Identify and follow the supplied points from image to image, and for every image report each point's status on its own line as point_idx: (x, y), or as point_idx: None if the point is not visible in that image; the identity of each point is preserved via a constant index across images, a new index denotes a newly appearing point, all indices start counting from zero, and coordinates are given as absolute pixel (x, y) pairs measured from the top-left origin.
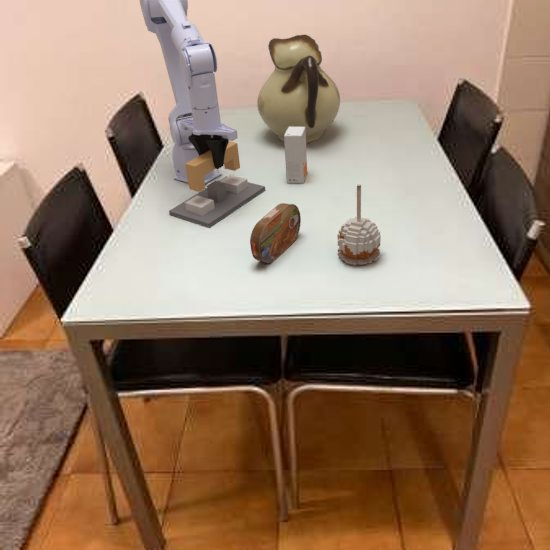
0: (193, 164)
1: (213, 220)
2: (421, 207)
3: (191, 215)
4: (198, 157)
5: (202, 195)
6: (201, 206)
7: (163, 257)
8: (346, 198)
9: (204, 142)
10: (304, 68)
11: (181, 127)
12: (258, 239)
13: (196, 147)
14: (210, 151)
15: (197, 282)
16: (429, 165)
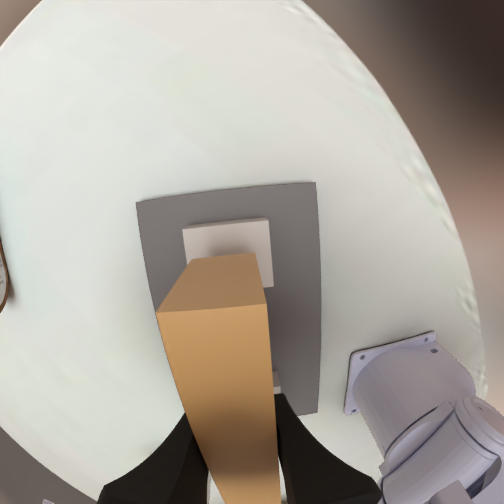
0: (197, 329)
1: (139, 225)
2: (13, 421)
3: (222, 203)
4: (263, 408)
5: (297, 317)
6: (190, 236)
7: (140, 39)
8: (67, 427)
9: (289, 496)
10: None
11: (462, 494)
12: None
13: (310, 457)
14: (264, 463)
15: (34, 60)
16: (94, 494)
